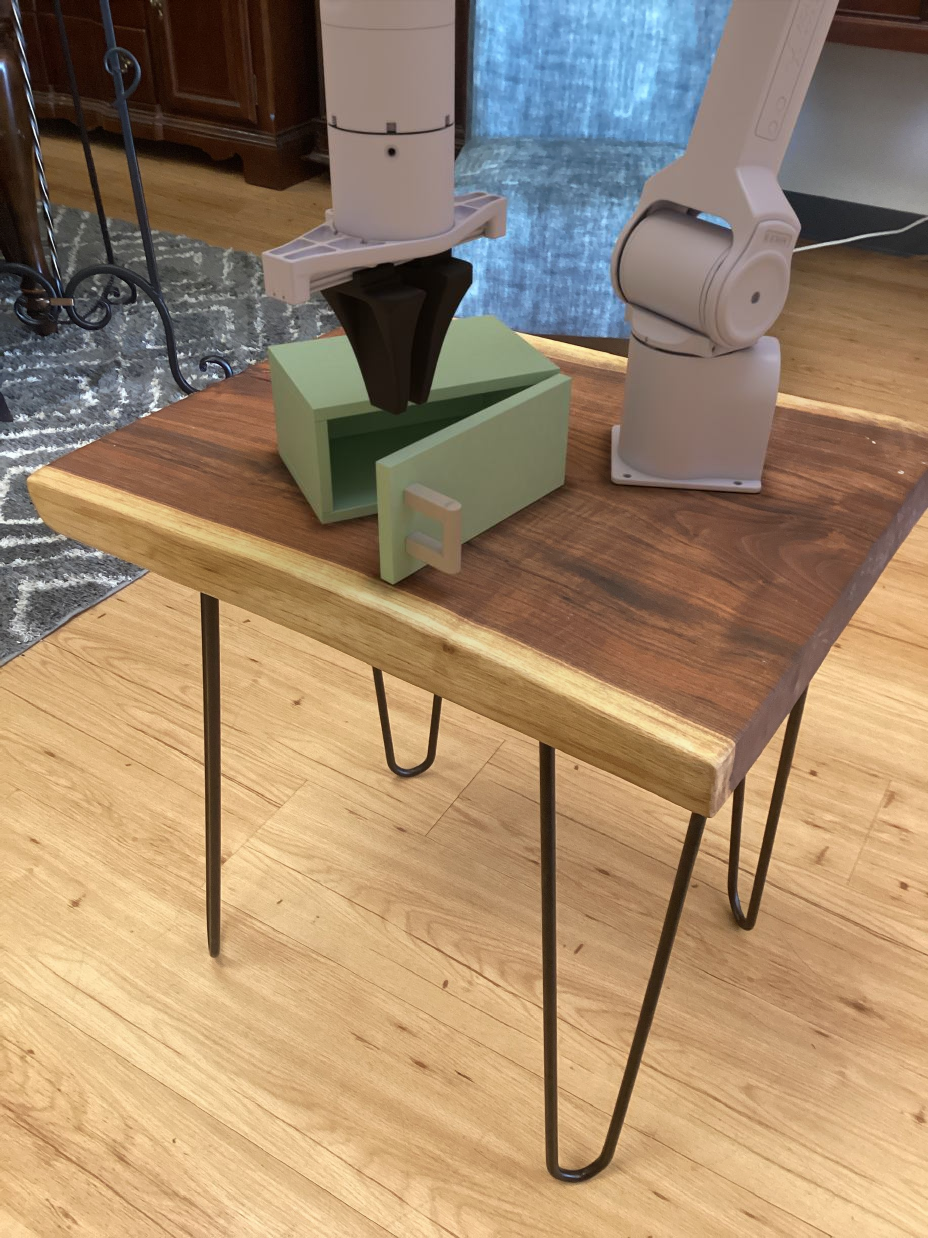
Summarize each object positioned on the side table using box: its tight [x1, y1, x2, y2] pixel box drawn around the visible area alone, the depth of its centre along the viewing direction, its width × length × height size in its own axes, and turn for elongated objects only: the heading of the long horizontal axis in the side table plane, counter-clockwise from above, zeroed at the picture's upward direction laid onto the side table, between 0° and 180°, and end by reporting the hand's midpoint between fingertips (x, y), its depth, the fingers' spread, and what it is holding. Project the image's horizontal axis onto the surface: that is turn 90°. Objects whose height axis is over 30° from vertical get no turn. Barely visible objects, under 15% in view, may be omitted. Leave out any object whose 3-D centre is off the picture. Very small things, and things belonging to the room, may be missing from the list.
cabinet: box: [267, 313, 561, 525], centre depth 67 cm, size 10×16×8 cm, turn 113°
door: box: [376, 372, 573, 586], centre depth 59 cm, size 4×16×7 cm, turn 138°
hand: (399, 402), depth 55 cm, fingers closed
